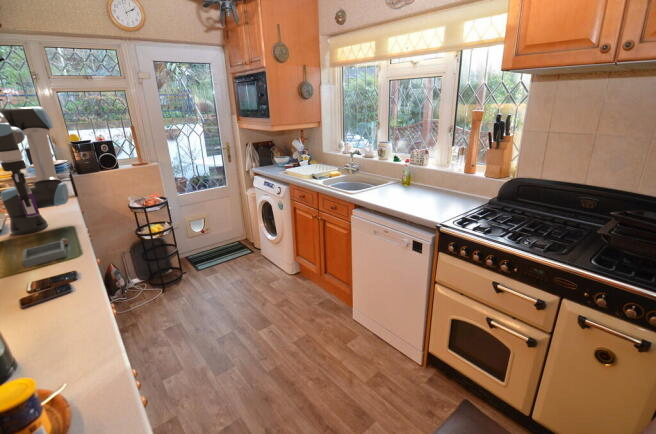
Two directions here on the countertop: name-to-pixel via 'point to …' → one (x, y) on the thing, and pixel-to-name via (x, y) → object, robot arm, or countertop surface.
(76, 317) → the countertop surface
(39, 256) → the tray
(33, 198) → the container
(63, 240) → the ball
